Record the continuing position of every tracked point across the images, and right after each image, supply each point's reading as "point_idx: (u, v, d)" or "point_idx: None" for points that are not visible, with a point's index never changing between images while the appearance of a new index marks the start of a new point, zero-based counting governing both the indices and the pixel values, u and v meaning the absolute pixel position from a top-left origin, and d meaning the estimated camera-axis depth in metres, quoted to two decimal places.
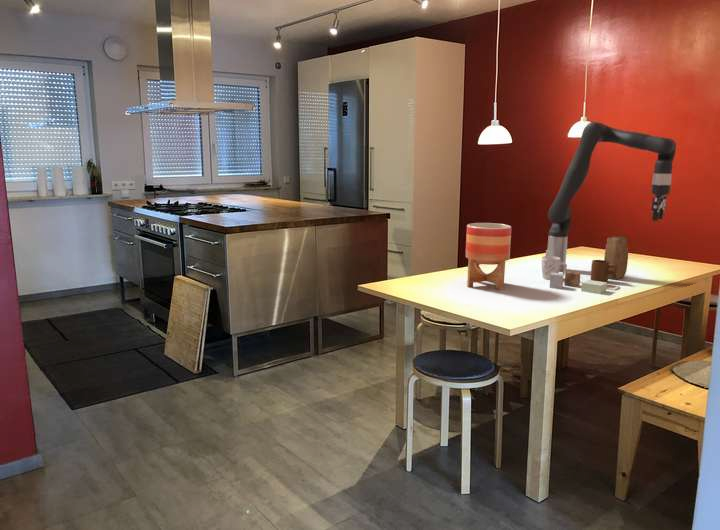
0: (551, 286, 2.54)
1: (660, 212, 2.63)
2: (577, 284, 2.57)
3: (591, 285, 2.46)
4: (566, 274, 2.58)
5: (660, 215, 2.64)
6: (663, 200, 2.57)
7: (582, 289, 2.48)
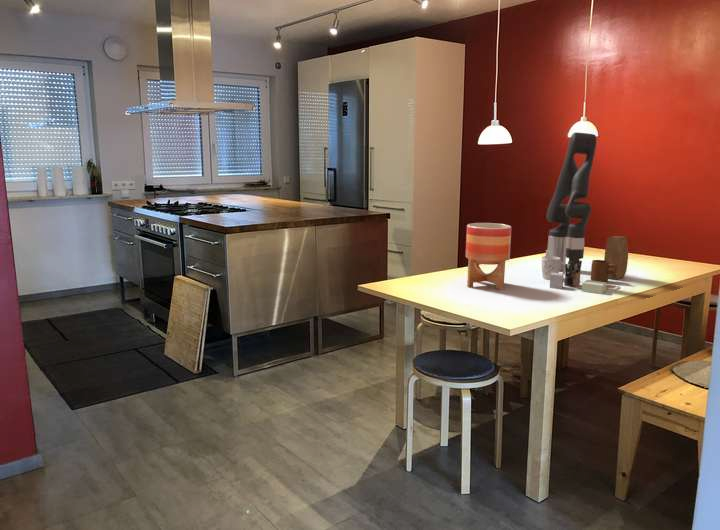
0: (551, 286, 2.54)
1: None
2: (577, 284, 2.57)
3: (592, 285, 2.45)
4: None
5: None
6: (576, 264, 2.55)
7: (583, 289, 2.48)
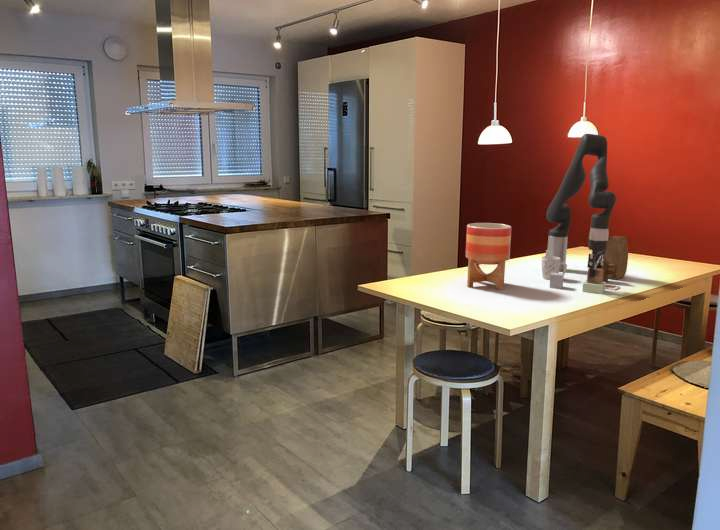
0: (551, 286, 2.54)
1: (598, 267, 2.50)
2: (600, 281, 2.47)
3: (593, 285, 2.45)
4: None
5: None
6: (600, 256, 2.44)
7: (583, 290, 2.47)
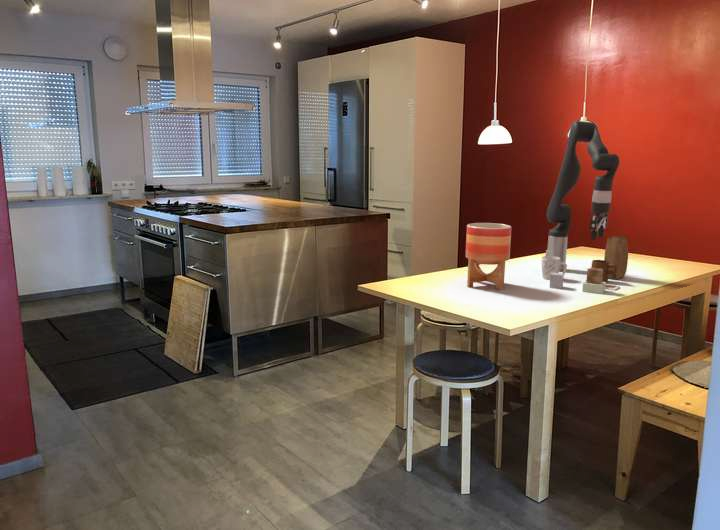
0: (551, 286, 2.54)
1: (601, 230, 2.53)
2: (600, 281, 2.47)
3: (593, 285, 2.45)
4: (588, 270, 2.47)
5: (601, 233, 2.53)
6: (602, 218, 2.46)
7: (583, 290, 2.47)
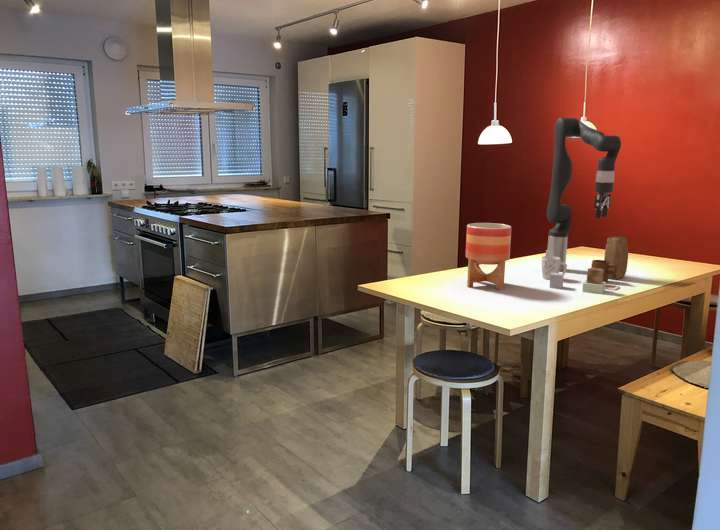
0: (551, 286, 2.54)
1: (604, 210, 2.62)
2: (600, 281, 2.47)
3: (593, 285, 2.45)
4: (588, 270, 2.47)
5: (605, 213, 2.62)
6: (606, 198, 2.55)
7: (583, 290, 2.47)
